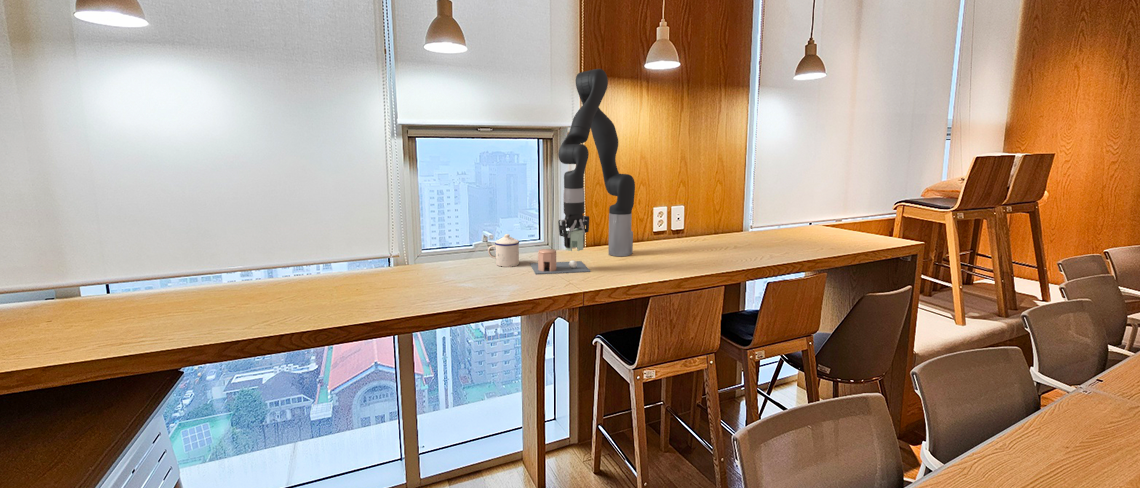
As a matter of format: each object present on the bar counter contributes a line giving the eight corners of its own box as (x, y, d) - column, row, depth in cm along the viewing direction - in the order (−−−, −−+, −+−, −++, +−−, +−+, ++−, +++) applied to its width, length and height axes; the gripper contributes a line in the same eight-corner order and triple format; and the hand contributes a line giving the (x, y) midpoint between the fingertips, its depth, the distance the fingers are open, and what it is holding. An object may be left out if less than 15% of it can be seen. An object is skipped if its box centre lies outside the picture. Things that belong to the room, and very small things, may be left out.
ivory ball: (573, 266, 204) (573, 259, 203) (578, 268, 201) (578, 260, 201) (567, 268, 202) (567, 260, 201) (572, 269, 200) (572, 261, 199)
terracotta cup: (548, 266, 204) (548, 248, 203) (559, 269, 200) (559, 250, 198) (534, 269, 200) (534, 250, 199) (546, 272, 195) (546, 253, 194)
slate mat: (581, 262, 213) (581, 261, 213) (590, 271, 198) (590, 270, 198) (530, 264, 210) (530, 263, 210) (535, 274, 194) (535, 273, 194)
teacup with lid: (521, 262, 213) (520, 232, 211) (517, 267, 204) (516, 236, 202) (491, 261, 214) (490, 232, 212) (485, 266, 205) (484, 236, 203)
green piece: (574, 246, 205) (574, 227, 203) (587, 248, 200) (586, 230, 199) (562, 249, 200) (561, 230, 199) (574, 251, 196) (574, 232, 194)
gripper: (580, 197, 204) (580, 241, 208) (552, 201, 194) (553, 247, 198) (595, 199, 199) (595, 244, 202) (567, 203, 189) (567, 250, 193)
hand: (574, 245), depth 200 cm, fingers closed on green piece, 6 cm apart
